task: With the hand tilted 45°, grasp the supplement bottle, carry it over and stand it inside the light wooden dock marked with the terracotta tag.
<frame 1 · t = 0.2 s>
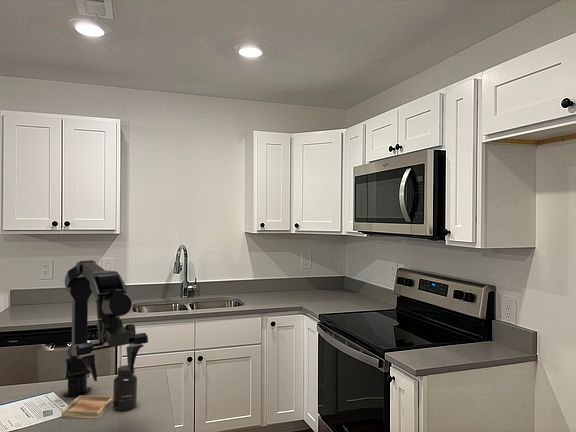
hand: (113, 377, 121), 16 cm above the worktop, tool pointing down, fingers open, 9 cm apart
dock: (88, 409, 136), on the worktop
supplement bottle: (125, 407, 138), on the worktop
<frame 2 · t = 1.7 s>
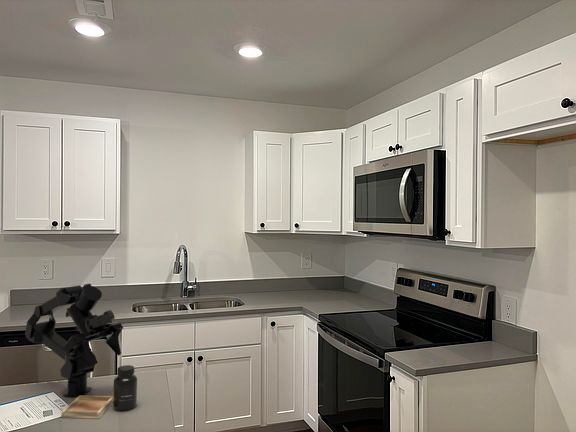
hand: (108, 359, 141), 13 cm above the worktop, tool tilted 45°, fingers open, 9 cm apart
nothing on the worktop moved.
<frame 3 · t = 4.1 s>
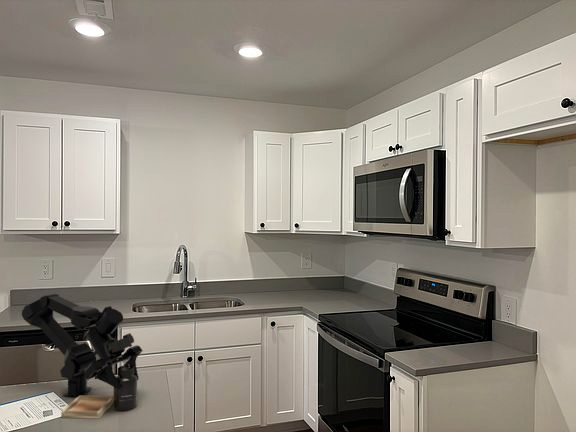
hand: (128, 384, 138), 7 cm above the worktop, tool tilted 45°, fingers closed on supplement bottle, 7 cm apart
supplement bottle: (125, 407, 138), on the worktop, touching gripper
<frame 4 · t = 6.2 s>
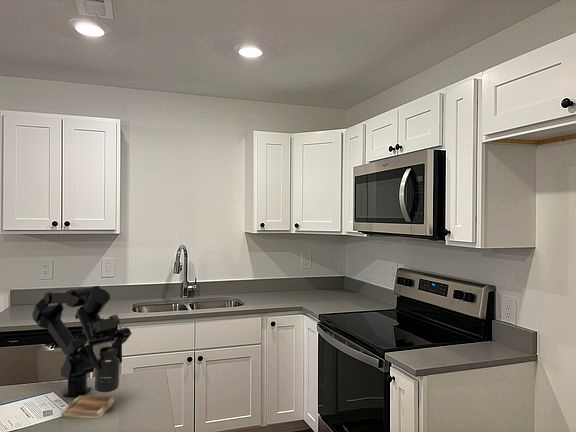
hand: (110, 365, 135), 13 cm above the worktop, tool tilted 45°, fingers closed on supplement bottle, 7 cm apart
supplement bottle: (107, 388, 137), point 6 cm above the worktop, touching gripper
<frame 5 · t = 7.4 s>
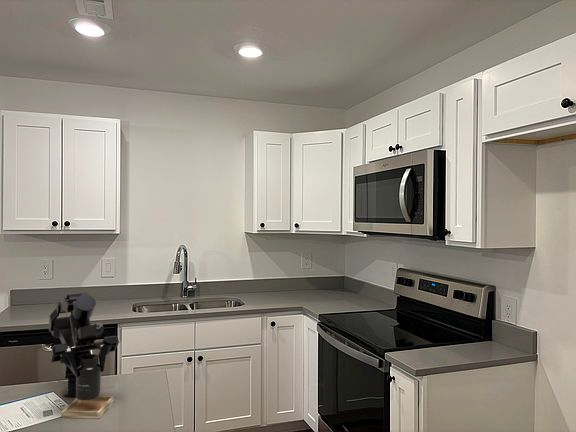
hand: (90, 373, 135), 11 cm above the worktop, tool tilted 45°, fingers closed on supplement bottle, 7 cm apart
supplement bottle: (88, 396, 136), point 4 cm above the worktop, touching gripper
when the fingers open (9 cm above the worktop, at t = 8.5 s): supplement bottle stays where it is, resting on dock.
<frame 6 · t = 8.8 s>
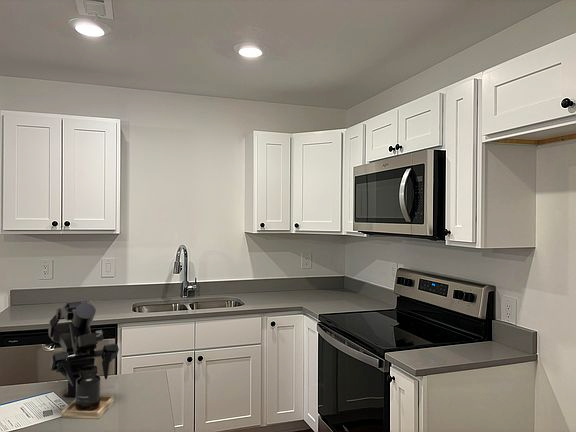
hand: (90, 382, 135), 9 cm above the worktop, tool tilted 45°, fingers open, 9 cm apart
supplement bottle: (88, 407, 136), point 1 cm above the worktop, touching dock
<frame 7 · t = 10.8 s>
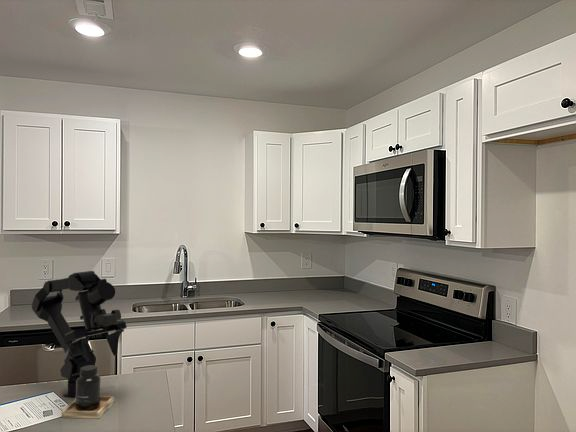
hand: (103, 358, 139), 14 cm above the worktop, tool tilted 25°, fingers open, 9 cm apart
nothing on the worktop moved.
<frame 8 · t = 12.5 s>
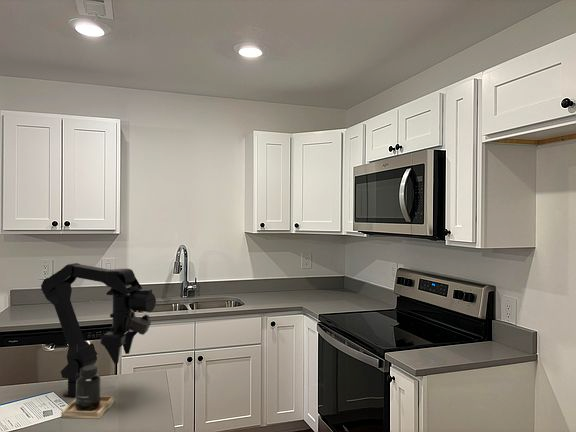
hand: (121, 358, 143), 13 cm above the worktop, tool pointing down, fingers open, 9 cm apart
nothing on the worktop moved.
at the end: supplement bottle 0.2 cm off-centre on the dock, point 0.5 cm above the dock's base; supplement bottle tilted 0°; the gripper is holding nothing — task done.
